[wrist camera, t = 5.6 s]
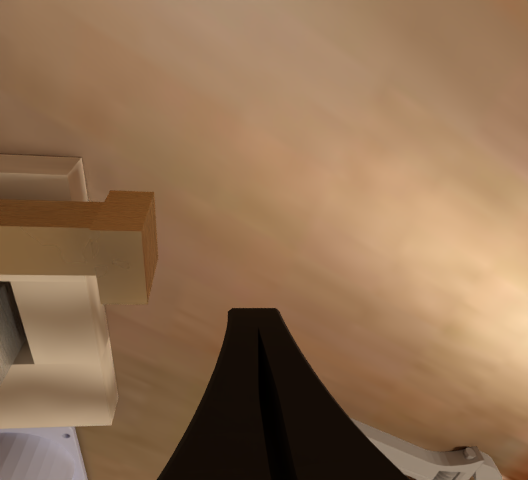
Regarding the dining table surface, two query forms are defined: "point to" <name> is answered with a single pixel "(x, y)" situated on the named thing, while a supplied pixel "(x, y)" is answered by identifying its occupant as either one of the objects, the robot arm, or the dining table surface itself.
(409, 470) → the adjustable wrench
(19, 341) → the peg
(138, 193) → the tan headed bar
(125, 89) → the dining table surface
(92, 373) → the socket block
